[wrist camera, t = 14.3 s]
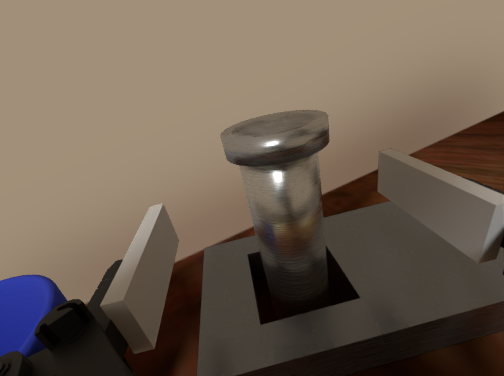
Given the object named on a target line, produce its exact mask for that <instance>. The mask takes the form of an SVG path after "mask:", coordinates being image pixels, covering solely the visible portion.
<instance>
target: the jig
mask: <svg viewBox="0 0 504 376" xmlns="http://www.w3.org/2000/svg"><path fill="white" fill-rule="evenodd" d="M323 220H324V232H325V245H326V258H327V271H328V273H329V274H330V276H331V278H332V280H333V281H334V283H335V285H336V286H337V288H338V290H339V292H340V293H341V295H342V297H343V299H344V300H345V302H344V303H340V304H337V305H333V306H329V307H325V308H322V309H318V310H314V311H311V312H307V313H303V314H300V315H296V316H292V317H288V318H285V319H281V320H277V321H274V322H270V323H266V324H263V322H262V317H261V312H260V307H259V302H258V296H257V291H256V286H255V281H254V279H258V278H262V277H266V275H265V271H264V266H263V262H262V258H261V254H260V250H259V245H258V241H257V237H256V235H254V236H250V237H246V238H242V239H238V240H234V241H230V242H227V243H223V244H219V245H215V246H211V247H207V248H204V265H203V283H202V300H201V317H200V334H199V351H198V369H197V376H345V375H349V374H352V373H356V372H359V371H363V370H366V369H370V368H373V367H377V366H380V365H384V364H387V363H391V362H394V361H398V360H401V359H405V358H409V357H412V356H416V355H419V354H423V353H426V352H430V351H433V350H437V349H440V348H444V347H447V346H451V345H454V344H458V343H461V342H465V341H469V340H472V339H476V338H479V337H483V336H486V335H490V334H493V333H497V332H500V331H504V275H503V269H504V248H502V247H500V250H499V253H498V256H497V259H495V260H491V261H487V262H483V263H479V264H478V263H477V262H475V261H474V260H472V259H471V258H470V257H468V256H467V255H466V254H464V253H463V252H461V251H460V250H459V249H457V248H456V247H454V246H453V245H452V244H450V243H449V242H447V241H446V240H445V239H443V238H442V237H440V236H439V235H438V234H436V233H435V232H433V231H432V230H431V229H429V228H428V227H426V226H425V225H424V224H422V223H421V222H419V221H418V220H417V219H415V218H414V217H412V216H411V215H410V214H408V213H407V212H405V211H404V210H403V209H401V208H400V207H398V206H397V205H396V204H394V203H393V202H391V201H388V202H384V203H380V204H376V205H372V206H368V207H364V208H360V209H356V210H353V211H349V212H345V213H341V214H337V215H333V216H329V217H325V218H323Z"/></svg>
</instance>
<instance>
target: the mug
mask: <svg viewBox="0 0 504 376" xmlns="http://www.w3.org/2000/svg"><path fill="white" fill-rule="evenodd" d="M64 302H67V300H66V298H65V297H64V295H63V294H62V292H61V291H60V290H59V288H58V287H57V285H56V284H55V283H54V282H53V281H52V280H51V279H49V278H47V277H45V276H41V275H22V276H17V277H12V278H9V279H5V280H1V281H0V356H2V355H5V354H7V353H9V352H13V351H19V352H21V353H22V354H23V355H24V356H25V357H27V358H28V357H30V356H31V355H33V354H35V353H37V352H39V351H41V350H43V349H45V348H46V347H45V346H44V345H43V344H42V342H41V341H40V340H39V339H38V338H37V337H36V336H35V335H34V333H35V328H36V327H37V325H38V323H39V322H40V321H41V320H42V319H43V317H44V316H45V315H46V314H47V313H49V312H50V311H51V310H53V309H54V308H55V307H57V306H59V305H60V304H62V303H64Z"/></svg>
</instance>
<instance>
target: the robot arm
mask: <svg viewBox="0 0 504 376" xmlns="http://www.w3.org/2000/svg"><path fill="white" fill-rule="evenodd" d="M377 191H378V192H379V193H380V194H382V195H383V196H384V197H386V198H387V199H389V200H390V201H391V202H393V203H394V204H396V205H397V206H398V207H400V208H401V209H403V210H404V211H405V212H407V213H408V214H410V215H411V216H412V217H414V218H415V219H417V220H418V221H419V222H421V223H422V224H424V225H425V226H426V227H428V228H429V229H431V230H432V231H433V232H435V233H436V234H438V235H439V236H440V237H442V238H443V239H445V240H446V241H447V242H449V243H450V244H452V245H453V246H454V247H456V248H457V249H459V250H460V251H461V252H463V253H464V254H466V255H467V256H468V257H470V258H471V259H472V260H474V261H475V262H477V263H478V264H479V263H483V262H487V261H491V260H495V259H497V256H498V253H499V250H500V247H502V248H504V192H502V191H500V190H497V189H493V188H492V187H490V186H487V185H483V184H482V183H480V182H477V181H475V180H472V179H469V178H464V177H460V176H457V175H455V174H452V173H450V172H447V171H445V170H442V169H440V168H438V167H435V166H433V165H430V164H428V163H426V162H423V161H421V160H418V159H416V158H413V157H411V156H409V155H406V154H404V153H401V152H399V151H396V150H394V149H392V148H391V149H387V150H382V151H379V166H378V190H377ZM178 242H179V239H178V237H177V234H176V232H175V230H174V228H173V225H172V223H171V220H170V218H169V216H168V213H167V211H166V209H165V207H164V204H163V203H162V204H158V205H154V206H150V208H149V210H148V212H147V214H146V216H145V218H144V220H143V222H142V224H141V226H140V228H139V229H138V232H137V233H136V236H135V238H134V239H133V241H132V243H131V245H130V247H129V249H128V251H127V253H126V255H125V257H124V259H122V260H118V261H116V262H115V263H114V264H113V265H112V266H111V267H110V268H109V269H108V270H107V272H106V273H105V275H104V277H103V279H102V281H101V282H100V284H99V286H98V289H97V290H96V291H95V293H94V295H93V296H92V298H91V300H90V302H89V303H88V305H87V307H86V305H85V304H84V303H83V302H82V301H81V300H79V299H73V300H70V301H67V302H64V303H62V304H60V305H59V306H57V307H55V308H54V309H53V310H51V311H50V312H49V313H47V314H46V315H45V316H44V317H43V319H42V320H41V321H40V322H39V323H38V325H37V327H36V328H35V333H34V335H35V336H36V337H37V338H38V339H39V340H40V341H41V342H42V344H43V345H44V346H45V347H46V348H45V349H43V350H41V351H39V352H37V353H35V354H33V355H31V356H30V357H28V358H27V357H25V356H24V355H23V354H22V353H21V352H19V351H13V352H9V353H7V354H5V355H2V356H0V376H136V374H135V372H134V371H133V369H132V367H131V366H130V364H129V362H128V361H127V359H126V358H125V357H124V356H125V353H126V350H127V347H128V346H129V347H130V348H131V350H132V351H133V352H134V354H136V353H140V352H144V351H148V350H152V349H155V345H156V340H157V336H158V331H159V327H160V322H161V318H162V314H163V309H164V305H165V300H166V296H167V291H168V287H169V283H170V278H171V274H172V269H173V265H174V261H175V256H176V252H177V247H178ZM503 275H504V269H503Z"/></svg>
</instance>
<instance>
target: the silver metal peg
mask: <svg viewBox="0 0 504 376" xmlns="http://www.w3.org/2000/svg"><path fill="white" fill-rule="evenodd" d="M221 140H222V144H223V147H224V151H225V155H226V159H227V160H228V161H229V162H231V163H233V164H236V165H239V166H240V170H241V174H242V179H243V183H244V187H245V191H246V195H247V199H248V203H249V208H250V212H251V216H252V220H253V225H254V229H255V233H256V237H257V241H258V245H259V250H260V254H261V258H262V262H263V266H264V271H265V275H266V279H267V283H268V287H269V291H270V296H271V300H272V304H273V308H274V311H275V313H276V315H277V317H278V318H279V319H280V320H281V319H285V318H288V317H292V316H296V315H300V314H303V313H307V312H311V311H314V310H318V309H322V308H325V307H329V306H330V296H329V283H328V271H327V258H326V245H325V232H324V220H323V207H322V194H321V181H320V169H319V156H318V152H319V151H320V150H322V149H323V148H324V147H326V145H327V144H328V143H329V123H328V115H327V113H325V112H322V111H317V110H296V111H287V112H280V113H274V114H269V115H264V116H260V117H256V118H252V119H249V120H246V121H243V122H240V123H237V124H235V125H233V126H231V127H229V128H227V129H226V130H224V131H223V132H222V133H221Z"/></svg>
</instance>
